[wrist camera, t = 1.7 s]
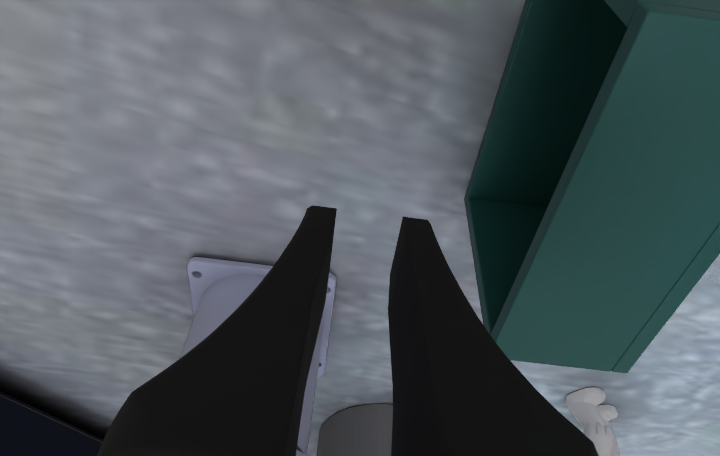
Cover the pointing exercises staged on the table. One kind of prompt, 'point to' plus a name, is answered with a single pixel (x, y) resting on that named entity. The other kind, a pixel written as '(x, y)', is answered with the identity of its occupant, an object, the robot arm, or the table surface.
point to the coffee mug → (358, 432)
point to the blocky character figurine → (595, 418)
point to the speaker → (40, 433)
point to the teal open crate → (598, 178)
